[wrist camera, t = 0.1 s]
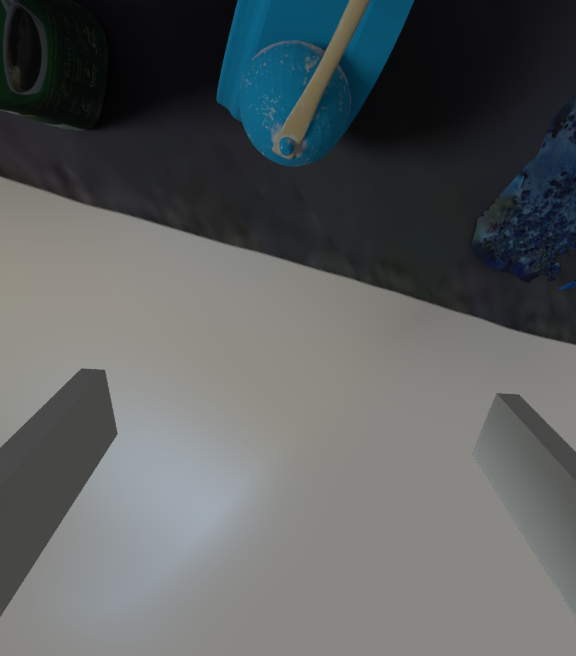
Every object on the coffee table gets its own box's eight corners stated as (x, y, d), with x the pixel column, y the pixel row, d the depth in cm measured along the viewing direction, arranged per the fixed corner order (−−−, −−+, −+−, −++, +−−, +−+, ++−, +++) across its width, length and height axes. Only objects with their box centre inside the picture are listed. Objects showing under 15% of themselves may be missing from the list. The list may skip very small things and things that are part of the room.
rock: (456, 252, 38) (464, 256, 36) (563, 78, 31) (580, 73, 29) (559, 298, 40) (572, 304, 38) (679, 148, 34) (701, 147, 32)
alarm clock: (284, -101, 26) (271, -717, 8) (402, -29, 27) (617, -398, 9) (217, 133, 32) (126, 95, 14) (315, 179, 34) (343, 196, 16)
